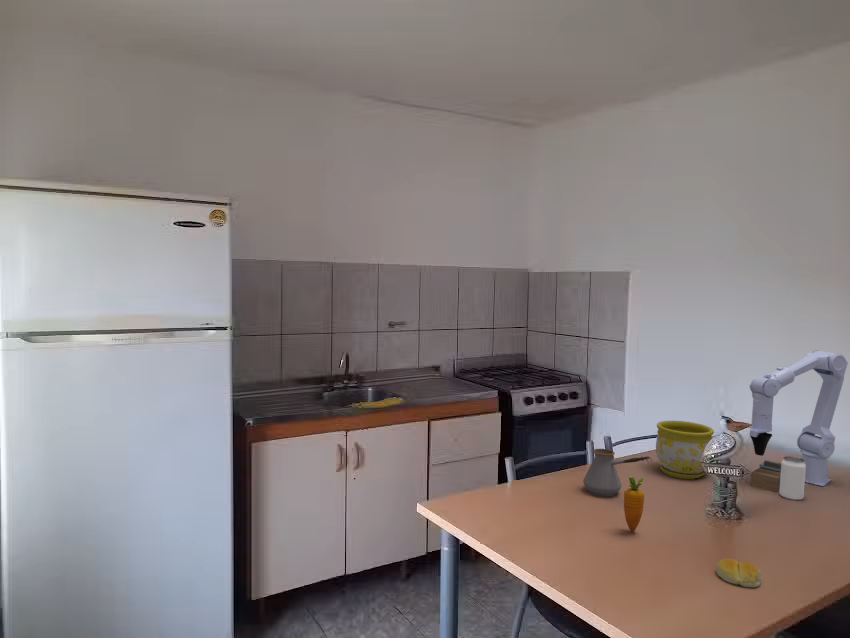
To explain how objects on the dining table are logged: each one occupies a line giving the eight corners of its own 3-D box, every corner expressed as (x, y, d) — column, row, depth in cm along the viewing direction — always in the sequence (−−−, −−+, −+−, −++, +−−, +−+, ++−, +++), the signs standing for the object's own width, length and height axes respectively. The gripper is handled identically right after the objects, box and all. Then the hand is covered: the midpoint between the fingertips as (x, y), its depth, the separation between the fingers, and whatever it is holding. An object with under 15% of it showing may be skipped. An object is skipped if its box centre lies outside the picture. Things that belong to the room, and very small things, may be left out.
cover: (766, 462, 204) (767, 456, 204) (791, 468, 198) (792, 461, 198) (759, 466, 199) (759, 460, 199) (784, 472, 193) (785, 465, 193)
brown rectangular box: (766, 476, 204) (767, 463, 204) (791, 482, 199) (792, 469, 199) (750, 485, 195) (751, 471, 194) (776, 492, 189) (777, 478, 189)
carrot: (641, 529, 157) (645, 474, 156) (642, 537, 153) (645, 480, 152) (622, 526, 159) (625, 471, 158) (621, 534, 154) (624, 477, 153)
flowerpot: (650, 463, 216) (652, 418, 215) (703, 467, 212) (706, 422, 211) (659, 479, 198) (662, 431, 197) (717, 484, 195) (720, 435, 194)
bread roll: (717, 566, 139) (718, 549, 139) (761, 577, 134) (762, 560, 134) (713, 580, 132) (714, 563, 132) (759, 593, 127) (760, 574, 127)
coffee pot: (575, 490, 186) (577, 443, 185) (596, 483, 193) (598, 437, 192) (637, 512, 169) (640, 460, 168) (658, 503, 177) (661, 453, 176)
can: (796, 493, 188) (799, 456, 188) (807, 501, 182) (810, 462, 181) (775, 492, 189) (777, 455, 188) (785, 499, 183) (788, 461, 182)
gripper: (756, 408, 202) (754, 448, 203) (740, 414, 193) (738, 455, 193) (779, 412, 197) (777, 453, 198) (764, 419, 187) (761, 461, 188)
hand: (759, 454), depth 195 cm, fingers closed
